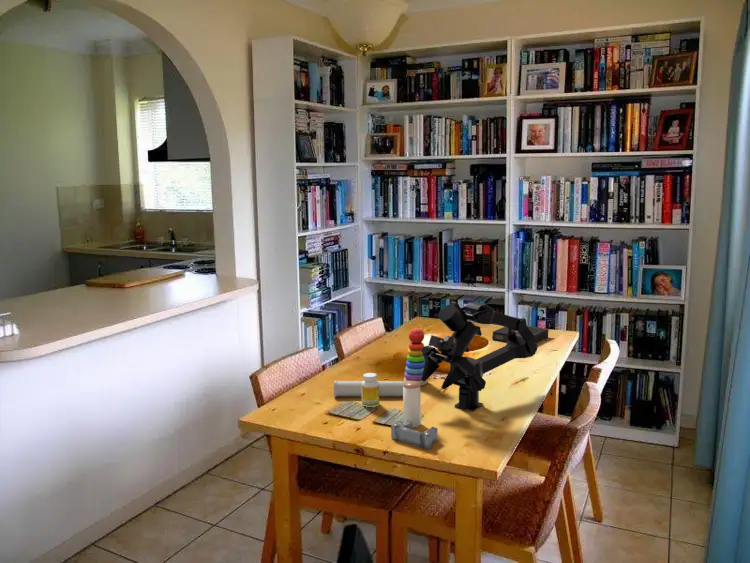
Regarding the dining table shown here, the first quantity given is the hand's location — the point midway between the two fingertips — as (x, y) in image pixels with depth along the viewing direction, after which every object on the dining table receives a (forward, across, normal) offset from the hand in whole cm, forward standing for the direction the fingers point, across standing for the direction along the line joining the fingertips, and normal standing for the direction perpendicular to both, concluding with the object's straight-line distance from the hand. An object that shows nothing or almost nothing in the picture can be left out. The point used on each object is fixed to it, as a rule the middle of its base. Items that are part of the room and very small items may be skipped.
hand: (432, 384), depth 186 cm
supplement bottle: (+13, -19, 0) cm, 23 cm away
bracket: (+16, +9, -2) cm, 19 cm away
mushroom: (+12, 0, +1) cm, 13 cm away
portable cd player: (-48, -45, +65) cm, 93 cm away
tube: (+10, -26, +4) cm, 28 cm away
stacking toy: (-3, -27, +16) cm, 32 cm away
